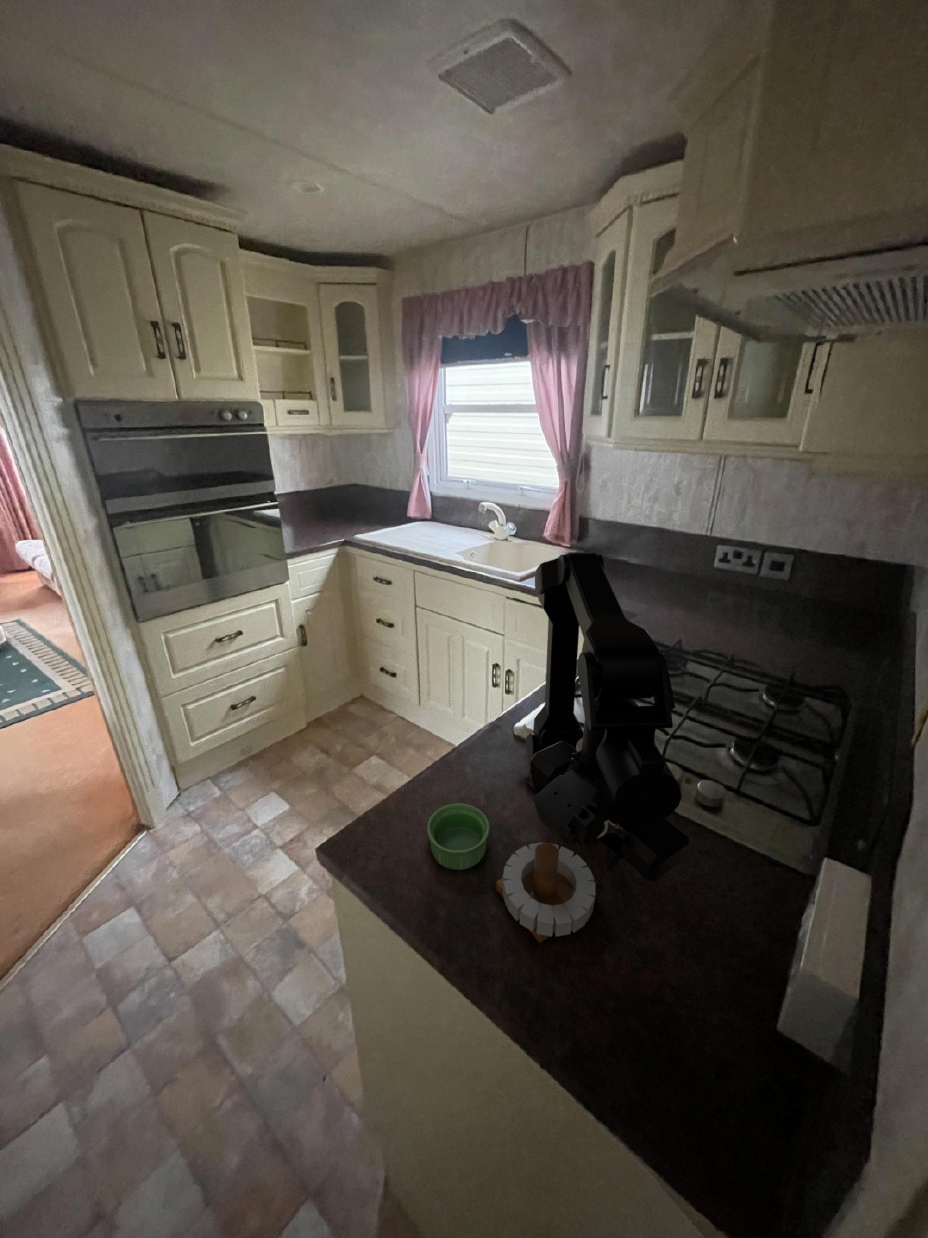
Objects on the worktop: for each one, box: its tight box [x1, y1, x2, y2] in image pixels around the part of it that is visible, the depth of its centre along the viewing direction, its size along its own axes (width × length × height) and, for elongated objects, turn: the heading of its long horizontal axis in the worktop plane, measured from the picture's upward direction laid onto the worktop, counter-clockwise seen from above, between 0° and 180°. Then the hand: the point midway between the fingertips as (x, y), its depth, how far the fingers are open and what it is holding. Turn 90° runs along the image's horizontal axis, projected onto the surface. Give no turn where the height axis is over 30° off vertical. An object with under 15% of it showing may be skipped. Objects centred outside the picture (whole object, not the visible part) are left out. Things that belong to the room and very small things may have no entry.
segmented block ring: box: [502, 842, 596, 938], centre depth 67 cm, size 12×12×2 cm
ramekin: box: [426, 802, 490, 871], centre depth 75 cm, size 9×9×4 cm
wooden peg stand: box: [495, 841, 575, 944], centre depth 67 cm, size 9×9×8 cm
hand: (594, 855), depth 60 cm, fingers open, 4 cm apart
